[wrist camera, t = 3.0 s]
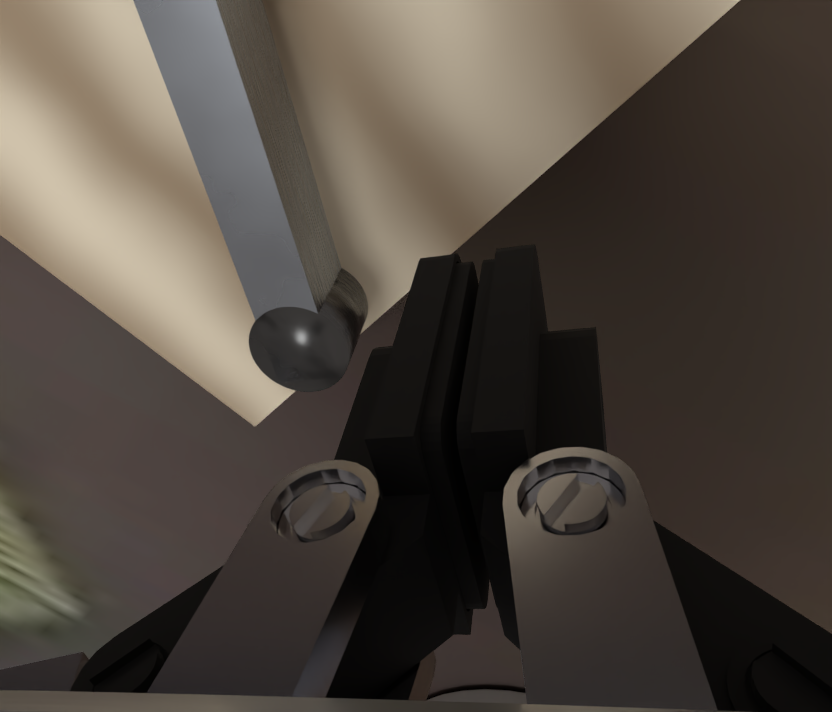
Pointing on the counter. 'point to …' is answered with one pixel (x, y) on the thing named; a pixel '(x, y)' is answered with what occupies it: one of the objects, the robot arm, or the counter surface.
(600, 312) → the counter surface
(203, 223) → the wooden cutting board
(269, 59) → the lever
